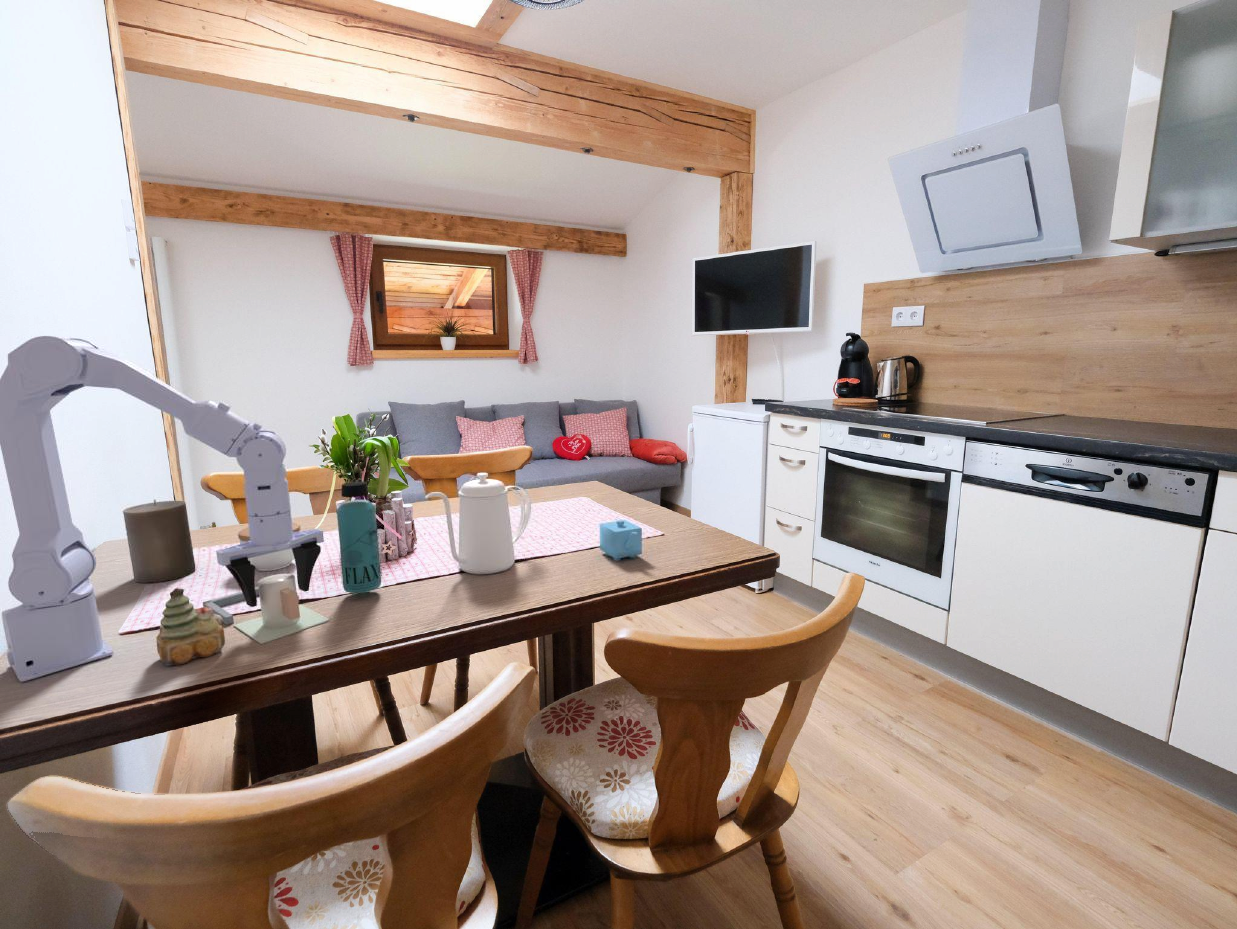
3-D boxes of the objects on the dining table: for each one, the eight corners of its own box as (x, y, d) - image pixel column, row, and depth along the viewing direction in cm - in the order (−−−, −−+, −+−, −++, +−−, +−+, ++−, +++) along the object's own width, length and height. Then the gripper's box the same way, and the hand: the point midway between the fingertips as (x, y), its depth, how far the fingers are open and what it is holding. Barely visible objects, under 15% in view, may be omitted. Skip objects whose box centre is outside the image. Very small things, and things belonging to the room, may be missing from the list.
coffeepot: (413, 579, 112) (406, 481, 109) (513, 546, 132) (509, 461, 129) (450, 592, 106) (443, 488, 103) (549, 555, 125) (546, 466, 122)
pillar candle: (206, 570, 119) (196, 495, 117) (152, 586, 111) (139, 506, 108) (177, 564, 123) (166, 492, 121) (122, 580, 115) (109, 502, 112)
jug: (257, 623, 94) (252, 580, 93) (291, 612, 98) (286, 571, 97) (280, 637, 89) (274, 592, 88) (314, 625, 93) (309, 582, 92)
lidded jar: (248, 561, 124) (243, 517, 123) (306, 554, 128) (302, 511, 126) (237, 578, 114) (230, 530, 113) (300, 570, 118) (295, 524, 116)
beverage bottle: (340, 603, 102) (329, 487, 98) (346, 589, 108) (336, 480, 105) (381, 599, 103) (371, 485, 100) (385, 585, 110) (376, 477, 106)
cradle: (226, 624, 94) (225, 617, 94) (203, 609, 100) (202, 602, 100) (299, 602, 102) (298, 595, 102) (273, 589, 109) (273, 582, 108)
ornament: (219, 638, 90) (210, 574, 88) (233, 650, 86) (224, 583, 84) (153, 658, 84) (143, 590, 82) (165, 672, 80) (154, 601, 78)
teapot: (650, 563, 120) (650, 526, 119) (623, 568, 117) (622, 531, 116) (622, 547, 131) (622, 513, 129) (597, 551, 128) (596, 517, 127)
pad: (261, 644, 87) (260, 642, 87) (234, 626, 93) (233, 624, 93) (329, 620, 95) (329, 619, 95) (300, 605, 101) (300, 604, 101)
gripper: (225, 526, 83) (236, 619, 85) (329, 506, 94) (337, 589, 97) (206, 518, 87) (218, 607, 90) (308, 500, 99) (316, 579, 101)
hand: (278, 597), depth 93 cm, fingers open, 7 cm apart
